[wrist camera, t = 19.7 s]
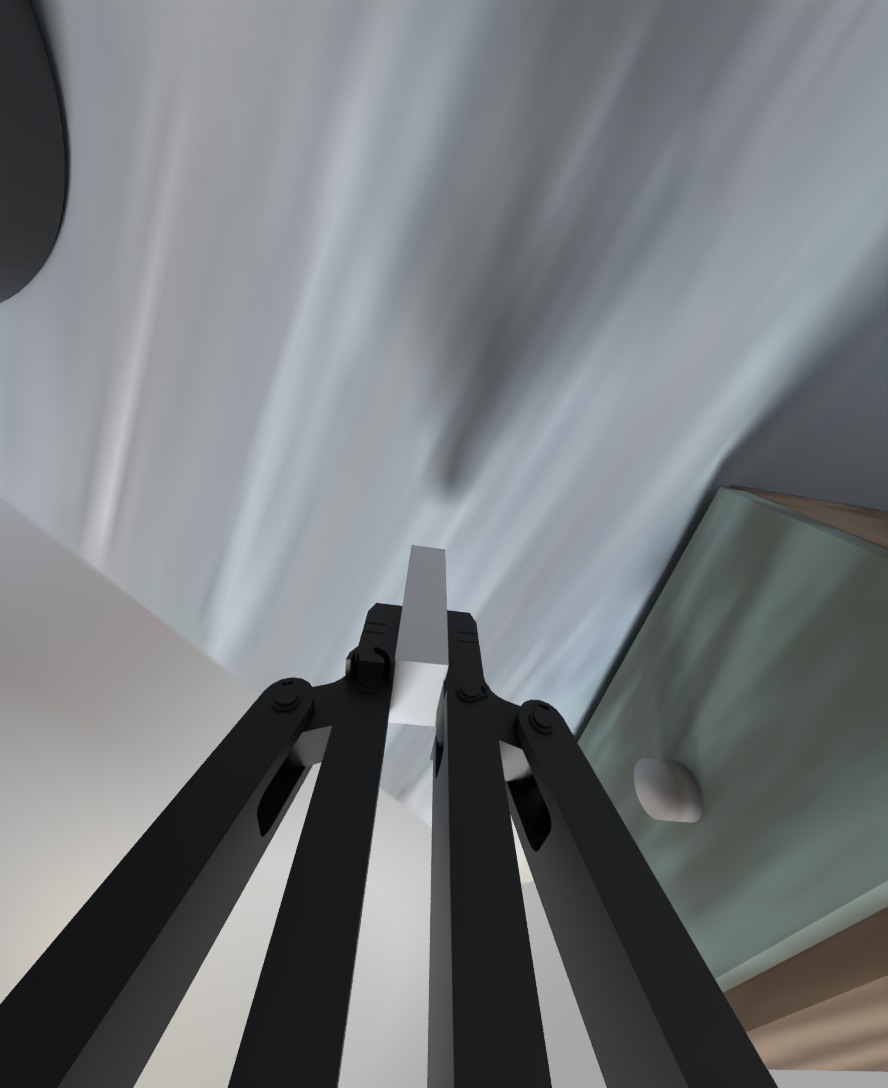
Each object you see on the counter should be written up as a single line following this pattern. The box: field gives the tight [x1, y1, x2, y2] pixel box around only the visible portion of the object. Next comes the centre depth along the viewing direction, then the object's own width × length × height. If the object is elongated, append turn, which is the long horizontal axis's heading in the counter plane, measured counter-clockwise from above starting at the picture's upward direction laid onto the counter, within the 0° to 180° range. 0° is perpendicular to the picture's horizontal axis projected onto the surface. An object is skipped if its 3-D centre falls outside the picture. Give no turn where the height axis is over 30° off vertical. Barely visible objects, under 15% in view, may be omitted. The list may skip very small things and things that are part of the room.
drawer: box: [578, 487, 888, 993], centre depth 18 cm, size 16×26×12 cm, turn 171°
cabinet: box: [723, 485, 888, 1072], centre depth 18 cm, size 14×26×14 cm, turn 171°
